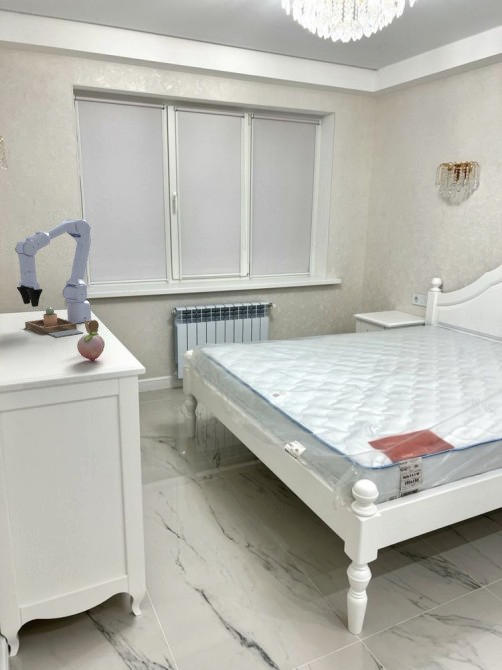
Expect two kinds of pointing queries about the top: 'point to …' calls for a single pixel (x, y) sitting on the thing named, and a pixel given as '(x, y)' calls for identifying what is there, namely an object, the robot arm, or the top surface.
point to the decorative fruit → (91, 345)
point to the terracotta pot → (50, 318)
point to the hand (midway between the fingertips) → (31, 305)
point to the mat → (65, 333)
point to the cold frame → (62, 326)
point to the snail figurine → (91, 326)
